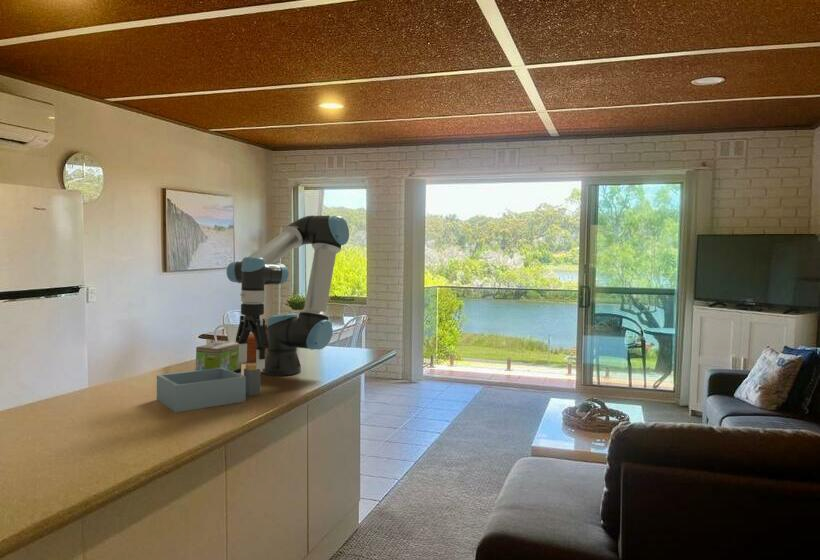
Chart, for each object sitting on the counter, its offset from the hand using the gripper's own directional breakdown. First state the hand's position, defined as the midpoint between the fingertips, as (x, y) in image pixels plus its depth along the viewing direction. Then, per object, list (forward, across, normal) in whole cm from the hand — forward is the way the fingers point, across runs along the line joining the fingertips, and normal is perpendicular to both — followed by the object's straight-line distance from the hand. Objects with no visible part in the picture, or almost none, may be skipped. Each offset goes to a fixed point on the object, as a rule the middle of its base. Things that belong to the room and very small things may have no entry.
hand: (251, 365), depth 200 cm
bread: (+9, -64, +34) cm, 73 cm away
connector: (+10, 0, +1) cm, 10 cm away
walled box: (+10, -1, -16) cm, 19 cm away
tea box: (+10, -19, -3) cm, 22 cm away
